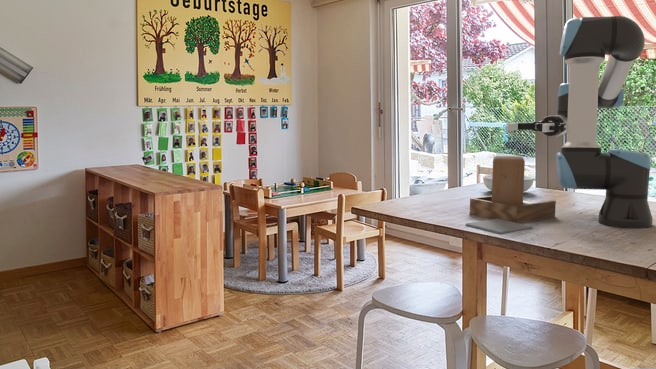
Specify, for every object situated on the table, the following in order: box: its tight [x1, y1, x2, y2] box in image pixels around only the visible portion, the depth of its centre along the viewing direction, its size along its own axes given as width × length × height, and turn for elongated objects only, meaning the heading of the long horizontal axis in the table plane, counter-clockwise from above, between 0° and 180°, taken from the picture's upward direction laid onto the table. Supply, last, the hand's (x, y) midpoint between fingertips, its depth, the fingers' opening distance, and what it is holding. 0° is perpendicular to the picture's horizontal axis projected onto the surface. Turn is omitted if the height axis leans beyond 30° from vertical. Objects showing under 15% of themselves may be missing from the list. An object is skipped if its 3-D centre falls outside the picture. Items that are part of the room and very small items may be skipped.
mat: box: [465, 219, 533, 235], centre depth 170 cm, size 14×14×1 cm
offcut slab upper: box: [523, 200, 535, 204], centre depth 190 cm, size 8×4×2 cm, turn 34°
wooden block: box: [491, 155, 526, 206], centre depth 186 cm, size 10×10×20 cm
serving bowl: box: [482, 174, 535, 193], centre depth 236 cm, size 21×21×7 cm
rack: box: [469, 195, 557, 224], centre depth 187 cm, size 19×20×6 cm
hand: (524, 127), depth 190 cm, fingers open, 13 cm apart
